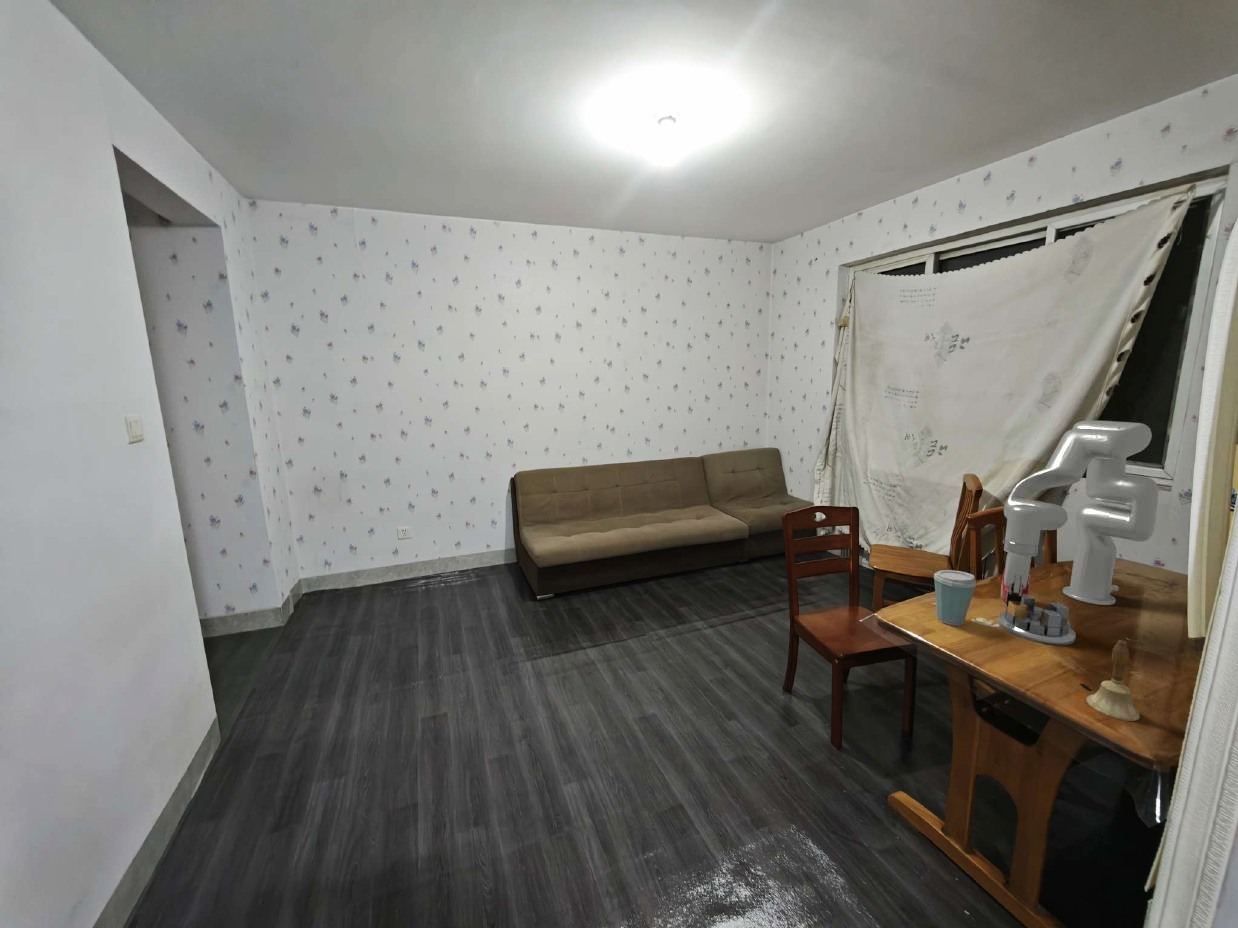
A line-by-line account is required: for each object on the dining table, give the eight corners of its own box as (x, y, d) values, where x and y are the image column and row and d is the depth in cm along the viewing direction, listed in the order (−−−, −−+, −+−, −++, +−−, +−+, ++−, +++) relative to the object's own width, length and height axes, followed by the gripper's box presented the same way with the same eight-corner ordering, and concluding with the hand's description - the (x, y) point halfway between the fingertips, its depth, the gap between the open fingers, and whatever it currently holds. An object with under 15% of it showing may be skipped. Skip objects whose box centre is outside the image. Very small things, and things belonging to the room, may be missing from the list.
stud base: (1028, 613, 150) (1030, 597, 149) (1091, 641, 134) (1094, 624, 133) (983, 619, 147) (985, 603, 146) (1042, 648, 130) (1044, 631, 129)
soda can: (1017, 597, 161) (1021, 563, 159) (1033, 606, 154) (1038, 571, 152) (994, 596, 162) (998, 562, 160) (1009, 606, 155) (1013, 570, 153)
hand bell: (1128, 725, 101) (1140, 655, 98) (1078, 702, 108) (1088, 636, 106) (1147, 714, 104) (1160, 646, 102) (1097, 692, 112) (1108, 628, 109)
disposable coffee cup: (925, 621, 146) (930, 574, 143) (933, 609, 153) (937, 564, 151) (968, 633, 138) (974, 583, 136) (974, 619, 146) (979, 572, 144)
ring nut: (994, 611, 148) (996, 592, 147) (1046, 614, 146) (1048, 595, 145) (1024, 634, 134) (1027, 614, 133) (1081, 637, 132) (1085, 617, 131)
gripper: (1004, 538, 148) (997, 594, 151) (1004, 551, 136) (996, 612, 139) (1036, 542, 143) (1028, 600, 146) (1039, 557, 132) (1030, 620, 135)
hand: (1013, 606), depth 143 cm, fingers closed
